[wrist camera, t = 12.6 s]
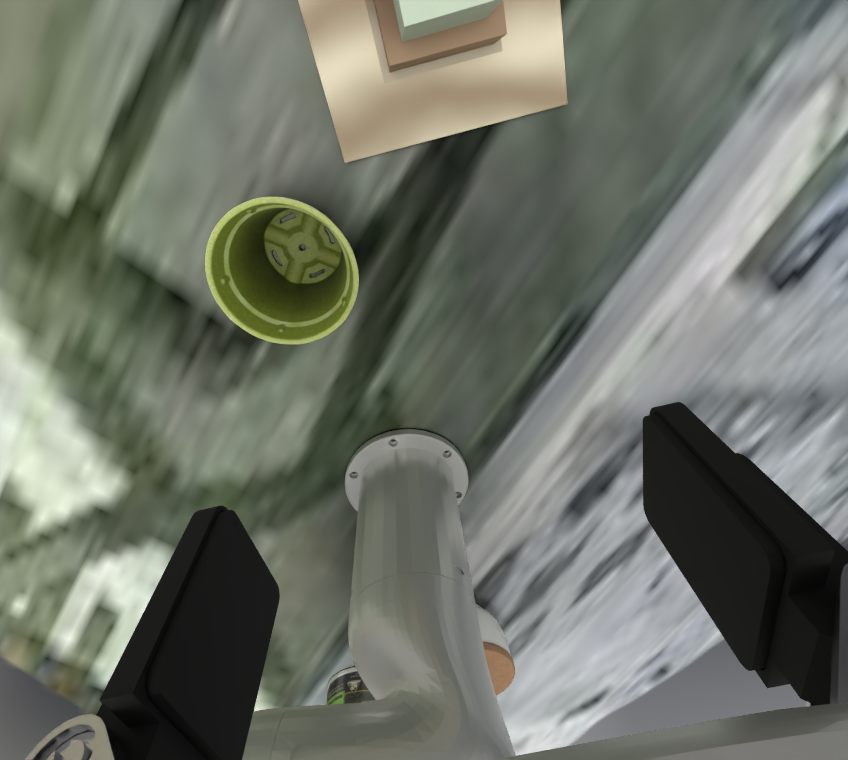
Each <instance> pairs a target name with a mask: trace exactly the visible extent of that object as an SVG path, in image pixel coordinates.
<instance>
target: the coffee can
mask: <svg viewBox="0 0 848 760" xmlns="http://www.w3.org/2000/svg"><path fill="white" fill-rule="evenodd" d="M373 700H375V698H374V697H373V695H372V694H371V693H370V691H369V690H368V688H367V687H366V685H365V683H364V682H363V680H362V679H361V677H360V675H359V673H358V671H357V669H356V667H351V668H348V669H345V670H342V671H340V672H338V673H337V674H335V675H334V676H333V677H332V678H331V680H330V681H329V683H328V694H327V703H326V705H332V704H349V703H361V702H362V701H373Z"/></svg>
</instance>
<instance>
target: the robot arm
mask: <svg viewBox="0 0 848 760" xmlns="http://www.w3.org/2000/svg"><path fill="white" fill-rule="evenodd" d="M467 488H468V472H467V468H466V464H465V461H464V459H463V457H462V455H461V453H460V452H459V451H458V450H457V449H456V447H455V446H454V445H453V444H451V443H450V442H449V441H447V440H446V439H444V438H442V437H440V436H438V435H436V434H434V433H430V432H427V431H423V430H415V429H400V430H395V431H389V432H386V433H383V434H380V435H378V436H376V437H374V438H372V439H370V440H369V441H367V442H366V443H364V444H363V445H362V446H361V447H360V448H358V450H357V451H356V452H355V453H354V455H353V456H352V457H351V459H350V462H349V464H348V466H347V470H346V475H345V490H346V495H347V497H348V500H349V502H350V503H351V505H352V506H353V508H354V509H355V510H356V511H357V512H358V517H357V528H356V540H355V552H354V564H353V576H352V587H351V599H350V612H349V624H348V639H349V647H350V652H351V655H352V659H353V662H354V665H355V667H356V669H357V671H358V673H359V675H360V677H361V679H362V680H363V682H364V683H365V685H366V687H367V688H368V690H369V691H370V693H371V694H372V695H373V697H374V698H375V700H373V701H362V702H361V703H349V704H332V705H315V706H298V707H289V708H274V709H266V710H259V711H255V712H253V711H254V707H255V702H256V698H257V694H258V690H259V685H260V681H261V677H262V672H263V668H264V664H265V659H266V655H267V651H268V647H269V642H270V638H271V634H272V629H273V625H274V621H275V617H276V612H277V608H278V604H279V588H278V585H277V583H276V581H275V579H274V578H273V576H272V574H271V573H270V571H269V569H268V567H267V566H266V564H265V562H264V561H263V559H262V557H261V555H260V554H259V552H258V550H257V549H256V547H255V545H254V543H253V542H252V540H251V538H250V537H249V535H248V533H247V532H246V530H245V528H244V526H243V525H242V523H241V521H240V520H239V518H238V516H237V514H236V513H235V512H234V511H233V510H228V509H227V508H226V507H224V506H217V507H212V508H208V509H204V510H199V511H197V512H195V513H194V515H193V516H192V518H191V520H190V522H189V524H188V526H187V528H186V530H185V532H184V534H183V536H182V538H181V540H180V542H179V544H178V546H177V548H176V550H175V552H174V554H173V556H172V557H171V559H170V561H169V563H168V565H167V567H166V569H165V571H164V573H163V575H162V577H161V579H160V581H159V583H158V585H157V587H156V589H155V591H154V593H153V595H152V597H151V599H150V601H149V603H148V605H147V607H146V609H145V611H144V613H143V615H142V617H141V619H140V621H139V623H138V625H137V627H136V629H135V631H134V633H133V635H132V637H131V639H130V641H129V643H128V645H127V647H126V649H125V651H124V653H123V655H122V657H121V659H120V661H119V663H118V665H117V667H116V669H115V671H114V673H113V675H112V677H111V679H110V680H109V682H108V684H107V686H106V688H105V690H104V692H103V694H102V696H101V698H100V701H101V702H102V705H101V707H100V709H99V711H98V713H97V715H96V716H95V715H93V714H89V715H80V716H78V717H76V718H73V719H71V720H68V721H66V722H65V723H63V724H62V725H60V726H59V727H57V728H56V729H54V730H53V731H52V732H51V733H49V734H48V735H47V736H46V737H45V738H44V739H43V740H42V741H41V742H40V743H38V745H37V746H36V747H35V748H34V749H33V750H32V752H31V753H30V754H29V755H28V756H27V758H26V759H25V760H848V551H847V550H846V549H845V548H844V547H843V546H842V545H840V544H839V543H838V542H837V541H836V540H835V539H834V538H833V537H832V536H831V535H830V534H829V533H828V532H827V531H825V530H824V529H823V528H822V527H821V526H820V525H819V524H818V523H817V522H816V521H815V520H814V519H813V518H812V517H811V516H809V515H808V514H807V513H806V512H805V511H804V510H803V509H802V508H801V507H800V506H799V505H798V504H797V503H796V502H794V501H793V500H792V499H791V498H790V497H789V496H788V495H787V494H786V493H785V492H784V491H783V490H782V489H781V488H779V487H778V486H777V485H776V484H775V483H774V482H773V481H772V480H771V479H770V478H769V477H768V476H767V475H766V474H765V473H763V472H762V471H761V470H760V469H759V468H758V467H757V466H756V465H755V464H754V463H753V462H752V461H751V460H749V459H748V458H747V457H745V456H744V455H742V454H738V453H736V454H735V453H734V452H733V451H732V450H731V449H730V448H729V447H728V446H727V445H726V444H725V443H724V442H723V441H722V440H721V439H720V438H719V437H717V436H716V435H715V434H714V433H713V432H712V431H711V430H710V429H709V428H708V427H707V426H706V425H705V424H704V423H703V422H702V421H701V420H700V419H699V418H698V417H697V416H696V415H694V414H693V413H692V412H691V411H690V410H689V409H688V408H687V407H686V406H685V405H684V404H682V403H681V402H676V403H672V404H667V405H663V406H659V407H654V408H652V409H651V411H650V415H649V416H645V417H644V419H643V505H644V511H645V514H646V517H647V519H648V521H649V523H650V524H651V526H652V527H653V529H654V531H655V532H656V534H657V535H658V537H659V538H660V540H661V541H662V543H663V544H664V546H665V548H666V549H667V551H668V552H669V554H670V555H671V557H672V558H673V560H674V561H675V563H676V564H677V566H678V568H679V569H680V571H681V572H682V574H683V575H684V577H685V578H686V580H687V581H688V583H689V584H690V586H691V588H692V589H693V591H694V592H695V594H696V595H697V597H698V598H699V600H700V601H701V603H702V604H703V606H704V608H705V609H706V611H707V612H708V614H709V615H710V617H711V618H712V620H713V621H714V623H715V625H716V626H717V628H718V629H719V631H720V632H721V634H722V635H723V637H724V638H725V640H726V641H727V643H728V644H729V646H730V648H731V649H732V650H733V652H734V654H735V655H736V657H737V658H738V660H739V661H740V663H741V664H742V665H743V666H744V667H745V668H746V669H747V670H749V671H751V670H755V671H756V672H757V674H758V675H759V676H760V678H761V680H762V681H763V683H764V684H765V685H766V687H767V688H770V687H776V686H780V685H786V684H791V686H792V687H793V689H794V690H795V691H796V693H797V694H798V696H799V697H800V698H801V699H803V700H805V701H806V707H798V708H789V709H780V710H774V711H767V712H762V713H755V714H749V715H743V716H737V717H731V718H724V719H718V720H712V721H706V722H700V723H694V724H688V725H682V726H676V727H671V728H666V729H660V730H655V731H649V732H644V733H638V734H633V735H628V736H622V737H617V738H611V739H605V740H600V741H595V742H589V743H583V744H578V745H573V746H567V747H562V748H556V749H551V750H545V751H540V752H534V753H529V754H524V755H519V756H516V755H515V752H514V749H513V746H512V743H511V740H510V737H509V734H508V731H507V728H506V725H505V723H504V720H503V717H502V713H501V710H500V707H499V704H498V701H497V698H496V695H495V691H494V688H493V684H492V681H491V677H490V673H489V669H488V664H487V660H486V656H485V651H484V646H483V641H482V636H481V631H480V626H479V621H478V615H477V609H476V604H475V599H474V593H473V587H472V582H471V576H470V570H469V565H468V559H467V553H466V548H465V542H464V537H463V531H462V525H461V520H460V514H459V508H458V506H459V505H460V503H461V502H462V500H463V499H464V497H465V494H466V491H467Z"/></svg>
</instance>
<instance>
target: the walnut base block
mask: <svg viewBox="0 0 848 760" xmlns="http://www.w3.org/2000/svg"><path fill="white" fill-rule="evenodd" d="M373 1H374V6H375V10H376V15H377V19H378V24H379V28H380V32H381V37H382V41H383V46H384V50H385V55H386V59H387V63H388V68H389V72H394V71H397V70H401V69H405V68H408V67H412V66H416V65H419V64H423V63H426V62H430V61H434V60H437V59H441V58H445V57H448V56H452V55H456V54H459V53H463V52H467V51H470V50H474V49H478V48H481V47H485V46H489V45H492V44H495V43H496V42H497V41H498V40H500V39H501V38H502V37H504V36H505V35H506V34H507V29H506V20H505V12H504V3H503V1H502V2H501V3H500V4H499V5H498V7H497V8H496V9H495V10H494V11H493V12H492V13H491V14H490V15H489V16H488V17H487V18H484V19H481V20H477V21H474V22H471V23H467V24H464V25H460V26H457V27H453V28H450V29H447V30H443V31H440V32H436V33H433V34H429V35H426V36H423V37H419V38H416V39H412V40H409V41H405V42H402V39H401V35H400V30H399V26H398V21H397V16H396V12H395V7H394V3H393V0H373Z"/></svg>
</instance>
